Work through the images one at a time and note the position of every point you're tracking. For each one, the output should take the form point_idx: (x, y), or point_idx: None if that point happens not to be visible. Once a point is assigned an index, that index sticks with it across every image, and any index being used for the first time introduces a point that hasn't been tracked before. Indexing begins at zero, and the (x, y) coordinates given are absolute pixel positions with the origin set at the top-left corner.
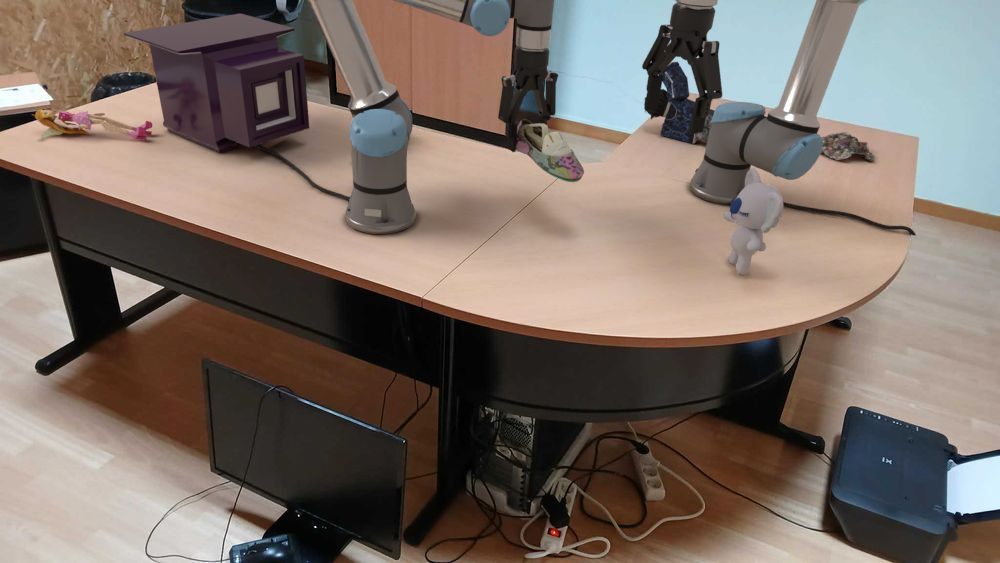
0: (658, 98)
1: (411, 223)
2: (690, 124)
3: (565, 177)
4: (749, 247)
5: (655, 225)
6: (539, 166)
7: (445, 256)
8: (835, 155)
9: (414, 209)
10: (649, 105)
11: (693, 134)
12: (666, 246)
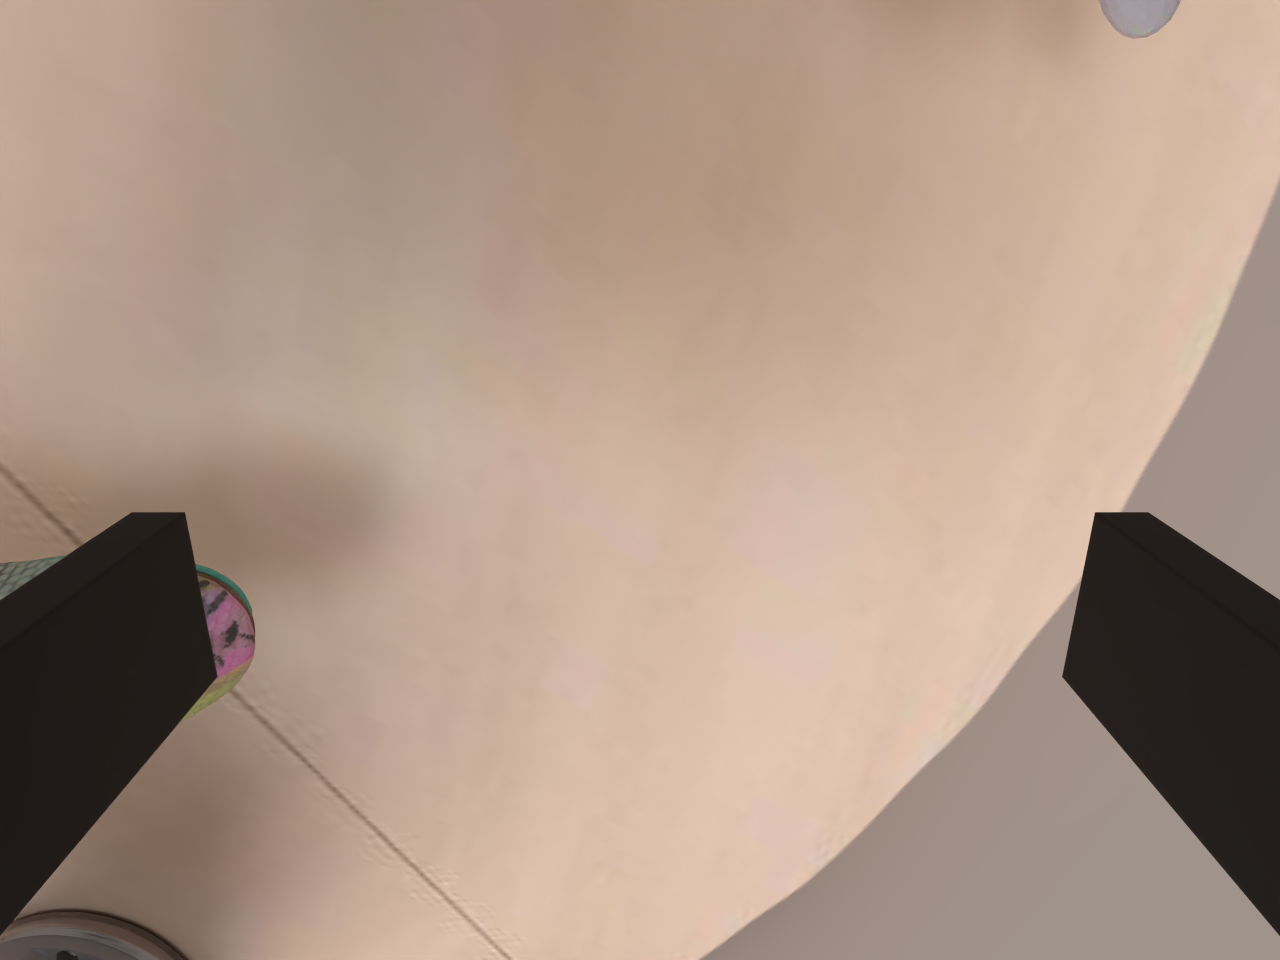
0: (94, 594)
1: (159, 947)
2: (1114, 738)
3: (235, 684)
4: (1144, 35)
5: (381, 39)
6: None
7: (390, 919)
8: None
9: (91, 948)
10: (180, 680)
11: None
12: (588, 137)
